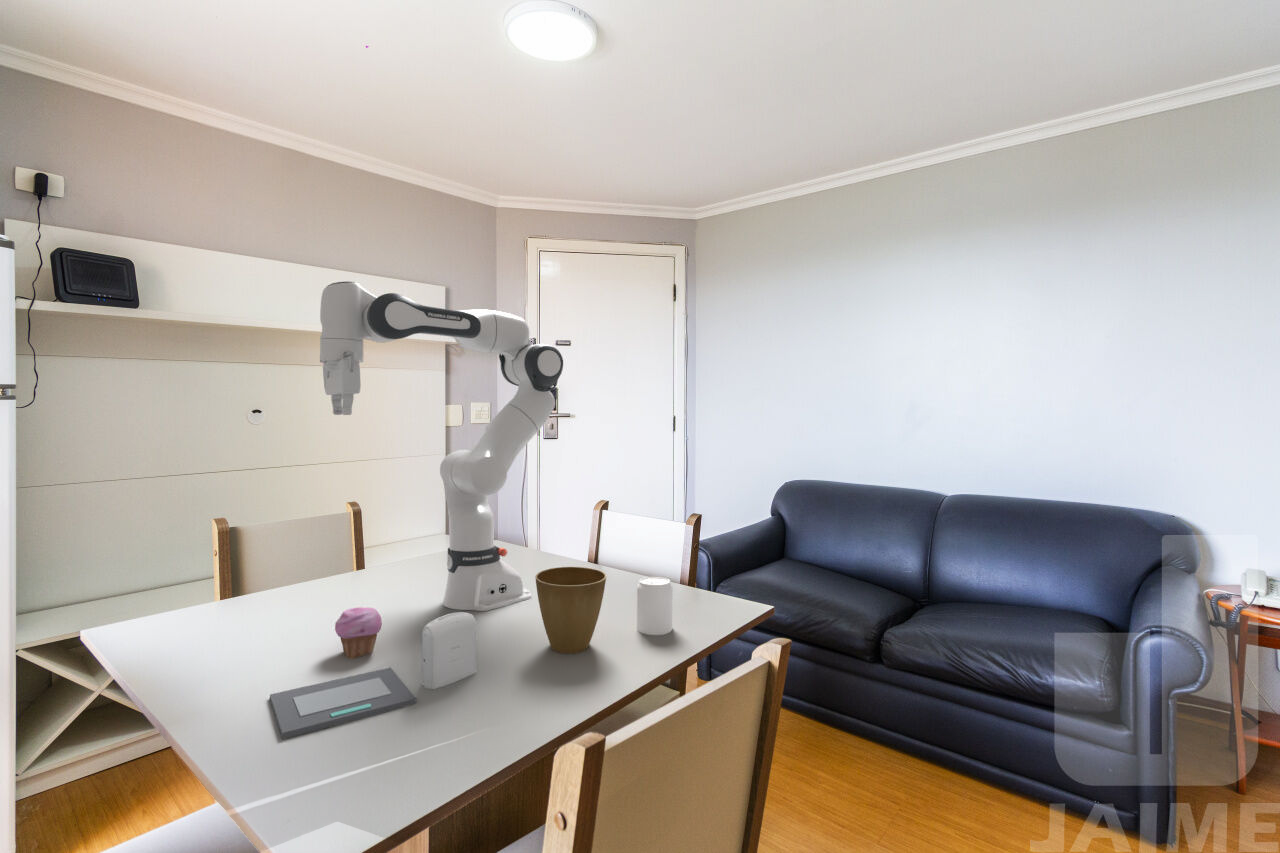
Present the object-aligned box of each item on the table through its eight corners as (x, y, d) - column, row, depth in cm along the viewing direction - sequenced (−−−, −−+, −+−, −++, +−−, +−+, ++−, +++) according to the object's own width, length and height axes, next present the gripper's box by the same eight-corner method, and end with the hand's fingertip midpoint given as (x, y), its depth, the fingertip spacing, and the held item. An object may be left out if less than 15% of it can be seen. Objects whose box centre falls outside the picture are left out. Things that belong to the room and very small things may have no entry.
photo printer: (431, 693, 111) (431, 624, 111) (418, 686, 114) (418, 618, 113) (479, 675, 119) (480, 610, 119) (466, 669, 122) (466, 606, 121)
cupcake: (330, 654, 128) (330, 606, 128) (374, 645, 133) (374, 598, 133) (342, 668, 121) (342, 617, 121) (387, 657, 127) (388, 609, 126)
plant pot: (521, 657, 128) (521, 579, 127) (556, 633, 141) (557, 563, 141) (586, 668, 122) (586, 587, 122) (616, 643, 136) (617, 570, 136)
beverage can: (679, 632, 143) (679, 580, 143) (655, 641, 137) (656, 587, 137) (653, 624, 148) (653, 574, 148) (629, 632, 142) (629, 580, 142)
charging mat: (390, 672, 119) (390, 666, 119) (416, 703, 107) (416, 697, 107) (269, 700, 107) (269, 693, 107) (282, 739, 95) (282, 731, 95)
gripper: (368, 351, 134) (368, 415, 135) (347, 357, 151) (347, 414, 151) (336, 349, 130) (336, 415, 131) (318, 356, 147) (318, 414, 147)
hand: (342, 414), depth 141 cm, fingers open, 8 cm apart
